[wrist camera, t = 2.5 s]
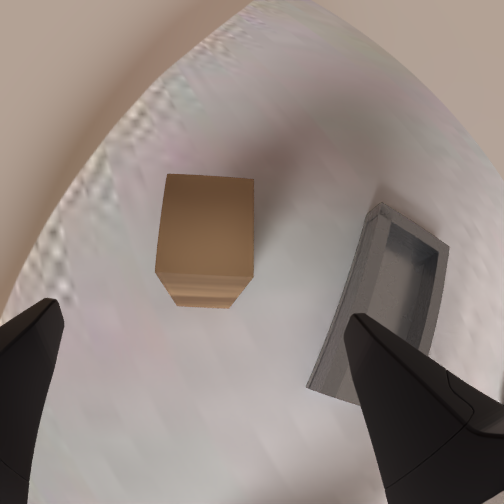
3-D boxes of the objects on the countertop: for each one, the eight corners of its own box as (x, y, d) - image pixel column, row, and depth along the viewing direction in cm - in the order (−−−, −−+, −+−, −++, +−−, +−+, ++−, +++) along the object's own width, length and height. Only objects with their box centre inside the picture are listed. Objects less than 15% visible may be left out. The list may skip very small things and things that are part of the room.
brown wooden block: (228, 308, 20) (253, 277, 11) (177, 305, 19) (154, 271, 10) (230, 252, 21) (253, 179, 12) (180, 249, 21) (167, 173, 11)
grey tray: (388, 414, 19) (406, 418, 17) (305, 387, 19) (319, 392, 17) (432, 254, 24) (449, 246, 22) (366, 214, 24) (381, 201, 22)
